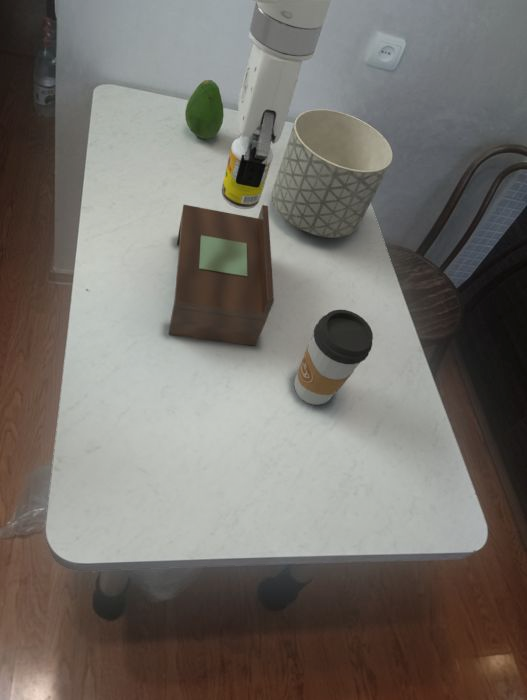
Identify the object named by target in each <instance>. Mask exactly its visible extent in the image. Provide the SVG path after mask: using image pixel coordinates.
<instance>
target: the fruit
mask: <svg viewBox="0 0 527 700" xmlns="http://www.w3.org/2000/svg"><path fill="white" fill-rule="evenodd" d="M184 114H185V115H184V116H185V122H186V125H187V127H188V129H189V130H190V132H191V133H192V134H194V135H195V136H196V137H197V138H200V139H203V140H209V139H212V138H213V137H214V136H216V135H217V134H218V133H219V131H220V130H221V127H222V126H223V121H224V116H225V115H224V104H223V99H222V95H221V91H220V88H219V86H218V84H217V83H216V82H215V81H214V80H212V79H204V80H203V81H202V82H201V83H199V84H198V85H197V87H196V88H195V90H194V91H193V92H192V94H191V95H190V96H189V99H188V101H187V104H186V107H185V112H184Z"/></svg>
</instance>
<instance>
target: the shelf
mask: <svg viewBox="0 0 527 700" xmlns="http://www.w3.org/2000/svg"><path fill="white" fill-rule="evenodd" d="M178 227H179V228H178V232H177V233H178V234H177V239H176V246H178V256H177V265H176V267H177V268H176V278H175V279H176V280H175V289H174V290H175V291H174V301H173V305H172V312H171V315H170V316H171V317H170V321H169V326H168V335H170V336H177V337H183V338H190V339H191V338H192V339H199V340H207V341H214V342H222V343H230V344H235V345H236V344H237V345H245V346H251V347H256V346H257V344H258V342H259V339H260V337H261V334H262V332H263V329H264V327H265V324H266V322H267V320H268V317H269V315H270V312H271V309H272V307H273V305H274V302H275V298H274V296H275V295H274V282H273V281H274V279H273V264H272V250H271V249H272V248H271V231H270V217H269V206H268V205H266V204H262V205H261V207H260V211H259V214H258V218H257V217H252V216H246V215H241V214H238V213H237V214H236V213H232V212H226V211H225V212H224V211H220V210H215V209H210V208H206V207H198V206H195V205H194V206H193V205H189V204H183V205H182V210H181V216H180V223H179V226H178Z"/></svg>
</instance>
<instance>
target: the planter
mask: <svg viewBox="0 0 527 700" xmlns="http://www.w3.org/2000/svg"><path fill="white" fill-rule="evenodd" d="M393 154H394V153H393V150H392V147H391V145H390V143H389V142H388V140H387V139H386V138H385V136H384V135H383V134H382V133H380V132H379V131H378V130H377V129H376V128H375V127H373V126H372V125H370V124H368V123H367V122H365V121H364V120H361V119H359V118H357V117H356V116H353V115H351V114H347V113H345V112H341V111H337V110H333V109H325V108H323V109H322V108H320V109H319V108H317V109H316V108H315V109H309V110H306V111H304V112H301V113H300V114H299V115H298V116H297V117H296V118H295V120H294V123H293V126H292V128H291V132H290V134H289V138H288V141H287V144H286V147H285V150H284V152H283V156H282V158H281V159H282V160H281V162H280V165H279V167H278V172H277V174H276V177H275V180H274V184H273V187H272V190H271V200H272V203H273V205H274V207H275V209H276V211H277V212H278V213H279V215H281V217H282V218H283V219H284V220H286V221H287V222H288V223H290V224H291V225H292V226H294V227H295V228H297V229H298V230H301V231H303V232H305V233H308V234H310V235H314V236H317V237H322V238H330V239H331V238H334V239H335V238H343V237H346V236H349V235H351V234H353V233H354V232H355V231H356V230H357V229H358V228H359V227H360V224H361V223H362V221H363V219H364V217H365V214H366V213H367V211H368V209H369V207H370V205H371V203H372V201H373V198H375V195H376V193H377V191H378V189H379V187H380V185H381V184H382V181H383V180H384V177H385V175H386V173H387V172H388V170H389V168H390V166H391V164H392V162H393V157H394V155H393Z"/></svg>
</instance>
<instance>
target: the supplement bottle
mask: <svg viewBox="0 0 527 700" xmlns="http://www.w3.org/2000/svg"><path fill="white" fill-rule="evenodd" d="M254 133H255V134H259V133H260V130H256V131H255V132H254ZM239 135H240V134H239ZM247 141H248V137H245V136H244V137H242V136H241V135H240V137H239V136H238V137H237V138H235V140H233V142H232V144H231V147H230V151H229V155H228V159H227V165H226V167H225V174H224V178H223V183H222V187H221V196H222V199H223V200H224V202H226V204H228V205H230V206H231V207H233V208H236V209H240V210H251V209H253V208H255V207H256V206H257V205H258V204H259V203H260V201H261V197H262V194H263V190H264V187H265V185H266V180H267V179H268V174H269V171H270V167H271V165H272V163H273V162H272V161H273V159H274V153H273V149H272V148H271V147H270V150H269V154H268V158H267V163H266V167H265V170H264V173H263V177H262V180H261V183H260V186H259V187H258V188H255V187H250V186H245V185H240V184H237V183H236V176H237V172H238V168H239V165H240V161H241V157H242V155H245V150H246V146H247ZM257 144H258V141H255V140H253V144H252V148H253V147H256V146H257ZM252 148H251V149H252Z"/></svg>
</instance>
